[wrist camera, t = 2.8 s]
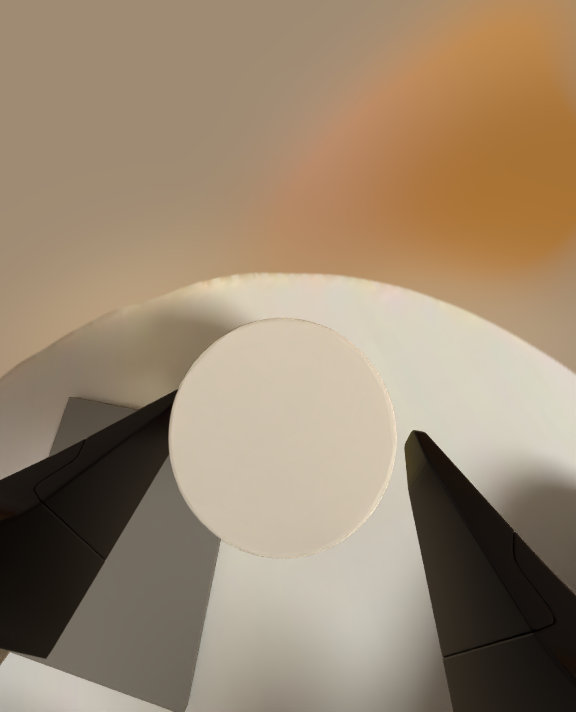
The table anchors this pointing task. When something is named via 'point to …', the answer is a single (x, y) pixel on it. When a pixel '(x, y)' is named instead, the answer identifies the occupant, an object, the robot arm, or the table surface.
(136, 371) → the table surface
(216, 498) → the supplement bottle
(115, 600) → the mat
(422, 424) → the table surface
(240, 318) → the table surface
